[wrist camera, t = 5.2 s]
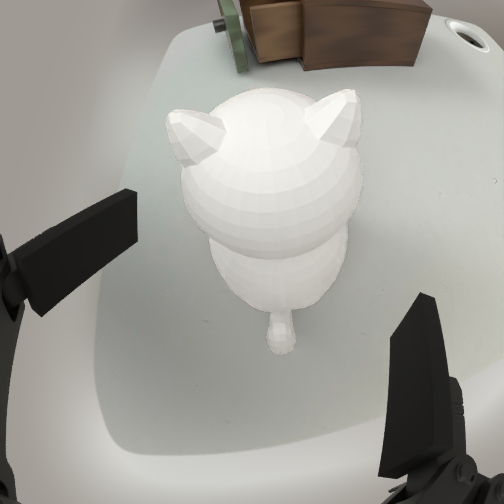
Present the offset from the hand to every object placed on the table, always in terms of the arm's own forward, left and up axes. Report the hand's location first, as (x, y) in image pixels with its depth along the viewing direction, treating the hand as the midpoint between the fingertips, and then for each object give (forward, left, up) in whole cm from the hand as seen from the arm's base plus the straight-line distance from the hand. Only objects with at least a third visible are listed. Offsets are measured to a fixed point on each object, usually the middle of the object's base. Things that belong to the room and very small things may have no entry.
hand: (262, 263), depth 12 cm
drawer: (-9, +27, -9) cm, 30 cm away
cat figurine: (0, +2, -10) cm, 11 cm away
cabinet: (-2, +32, -10) cm, 34 cm away
